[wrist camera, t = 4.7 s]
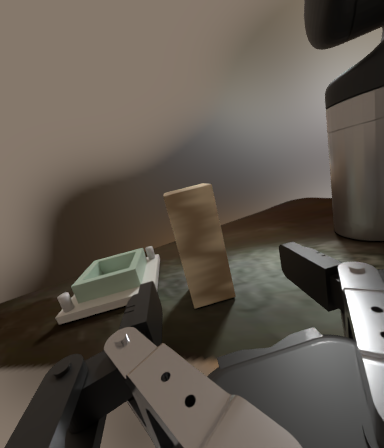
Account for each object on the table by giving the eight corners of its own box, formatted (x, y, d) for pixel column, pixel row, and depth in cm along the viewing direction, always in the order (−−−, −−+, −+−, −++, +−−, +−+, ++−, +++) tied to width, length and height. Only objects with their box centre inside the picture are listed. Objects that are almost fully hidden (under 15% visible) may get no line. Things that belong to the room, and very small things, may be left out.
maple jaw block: (223, 276, 25) (202, 183, 22) (235, 296, 21) (211, 184, 18) (189, 286, 25) (164, 193, 22) (194, 308, 21) (163, 196, 18)
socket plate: (159, 259, 36) (154, 241, 35) (156, 296, 25) (148, 271, 24) (94, 277, 35) (87, 259, 35) (58, 324, 24) (46, 299, 23)
